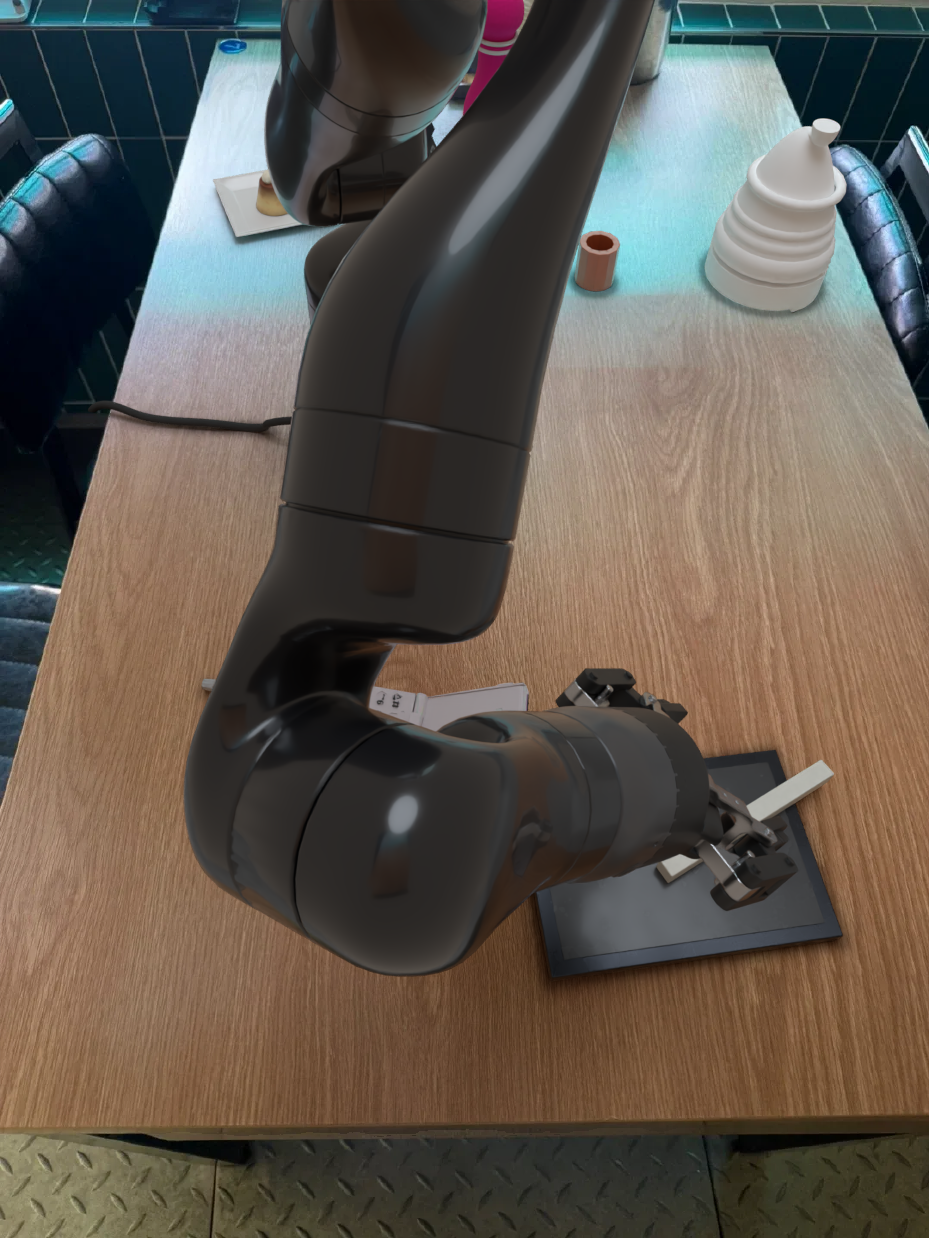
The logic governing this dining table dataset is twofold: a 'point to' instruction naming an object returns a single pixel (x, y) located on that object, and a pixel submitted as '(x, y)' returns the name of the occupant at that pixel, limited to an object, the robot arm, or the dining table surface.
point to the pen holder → (596, 260)
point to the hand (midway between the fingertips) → (721, 773)
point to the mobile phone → (442, 703)
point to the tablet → (687, 901)
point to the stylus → (761, 810)
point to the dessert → (252, 204)
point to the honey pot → (780, 224)
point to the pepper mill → (495, 42)
